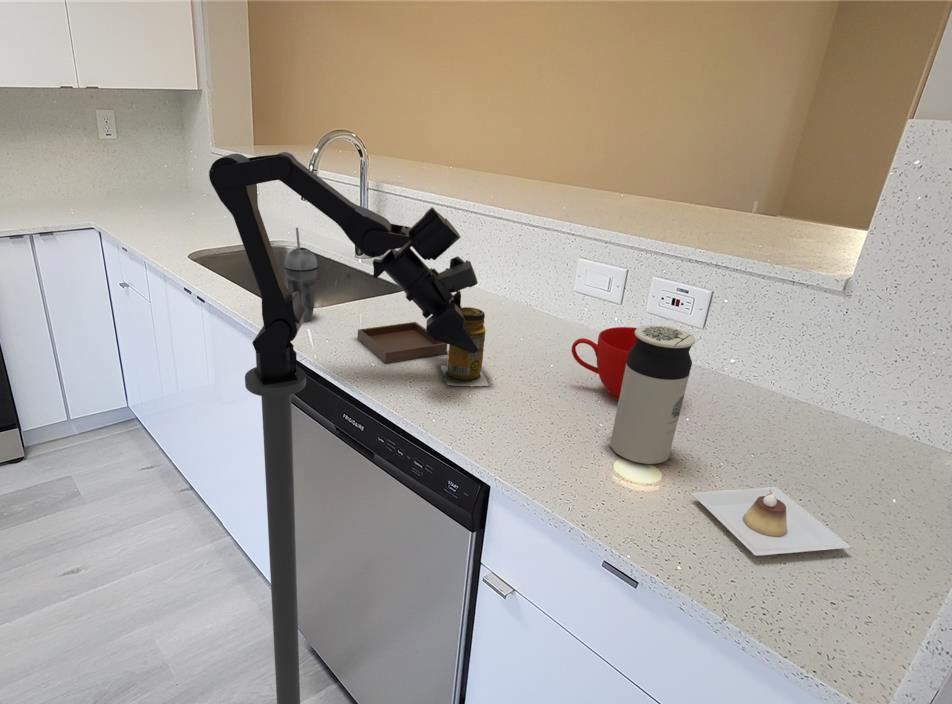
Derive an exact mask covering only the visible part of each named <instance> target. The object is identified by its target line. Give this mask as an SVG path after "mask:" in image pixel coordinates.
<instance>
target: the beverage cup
mask: <svg viewBox="0 0 952 704" xmlns="http://www.w3.org/2000/svg"><path fill="white" fill-rule="evenodd" d="M299 233H300V232H299V227H295V236H296V245H297V248H293V249H292V250H290V252H289V253H288V254H287V255H286V257H285V260H284V265H283V268H284V273H285V276H286V282H287V289H288V290H289V291H290V292H291V293H294V292H296V291H299V294H300V301H301V304H302V306H303V307H304V309H305V310H306V311H305V313H304V315H303V316H304V319H303V323H304V322H305V323H306V322H309V321H312V320H313V315H314V310H315V309H314V308H315V296H316V295H315V293H316V281H317V276H318V272H319V271H318V270H319V265H318V259H317V257H316V255H315V253H313V252H312V251H311V249H308V248H306V247H301V241H300V234H299Z"/></svg>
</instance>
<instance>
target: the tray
mask: <svg viewBox="0 0 952 704" xmlns="http://www.w3.org/2000/svg"><path fill="white" fill-rule="evenodd" d="M357 340H358V341H359V342H361V343H362V344H363V345H364V346H365V347H366V349H368V350H369V351H370V352H372V353H373V354H374V355H375V356H377V357H378V358H379V359H380V360H381V362H383V363H384V364H389V363H390V364H391V363H397V362H403V361H409V360H414V359H420V358H427V357H433V356H439V355H446V354H448V344H446V343H443V342H437V341H436V342H433V341H432V340H431V339H430V338H429V337H428V336H427V335H426V327H424V326H423V325H421V324H419V323H418V322H417V321H410V322H404V323H397V324H396V323H395V324H388V325H381V326H374V327H373V326H372V327H368V328H361V329H357Z"/></svg>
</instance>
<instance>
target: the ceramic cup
mask: <svg viewBox="0 0 952 704" xmlns="http://www.w3.org/2000/svg"><path fill="white" fill-rule="evenodd" d="M637 328H638V327H634V326H633V327H632V326H617V327H611V328H610V327H609V328H605V329H603V330H602V331H600V332H599V334H598V338H597V342H596V343H595V342H594V341H593V340H591V339H588V338H584V337H581V338H578V339H576V340H574V341H573V343H572V345H571V355H572V357H573V358H574V360H575V361H576V363H577V364H579V365H580V366H581V367H583V368H585V369H587V370H588V371H590V372H593V373H595V374H597V375H598V376H599V379H600V381H601V383H602V385H603V387H604V388H605V389H606V391H607V392H608V394H609V396H611V397H612V398H613V399H615V400H617V401H619V397H620V392H621V387H622V382H623V377H624V372H625V368H626V363H627V358H628V353H629V350H630V349H631V348H632V347H633V346H634V345H635V344H636V335H635V330H636V329H637ZM579 344H586V345H587V346H590V347H591V348H592V349H593V351H594V355H595V357H596V366H593V365H592V364H589V363H588V362H586V361H584V360H583V359H581V357H580V356H579V354H578V353H577V346H578V345H579Z"/></svg>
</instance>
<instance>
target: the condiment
mask: <svg viewBox="0 0 952 704" xmlns="http://www.w3.org/2000/svg"><path fill="white" fill-rule="evenodd" d="M459 309H460V310H461V312H462V313H464V325H463V326H464V327H465V329H466V330H467V332H468V333H469V335H470V336H471V338H472V340H473V341H474V343H475V344H476V346H477V347H478V351H477V352H476V353H474V354H473V353H471V352H468V351H465V350H463V349H460V348H458V347H455V346H452V345H449V344H448V355H447V356H448V357H447V365H440V369H441V372H442V374H443V375H442V376H443V377H444V381H445V383H446V385H447V386H453V387H470V388H473V387H489V382H488V380H487V379H486V377H485V375H484V373H483V371H482V368H483V363H484V362H483V361H484V350H485V349H484V347H485V340H486V339H485V338H486V331H487V330H486V327H485V318H486V314H485V312H484V311H483V310H482V309H479V308H476V307H467V306H466V307H462V308H459Z"/></svg>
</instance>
